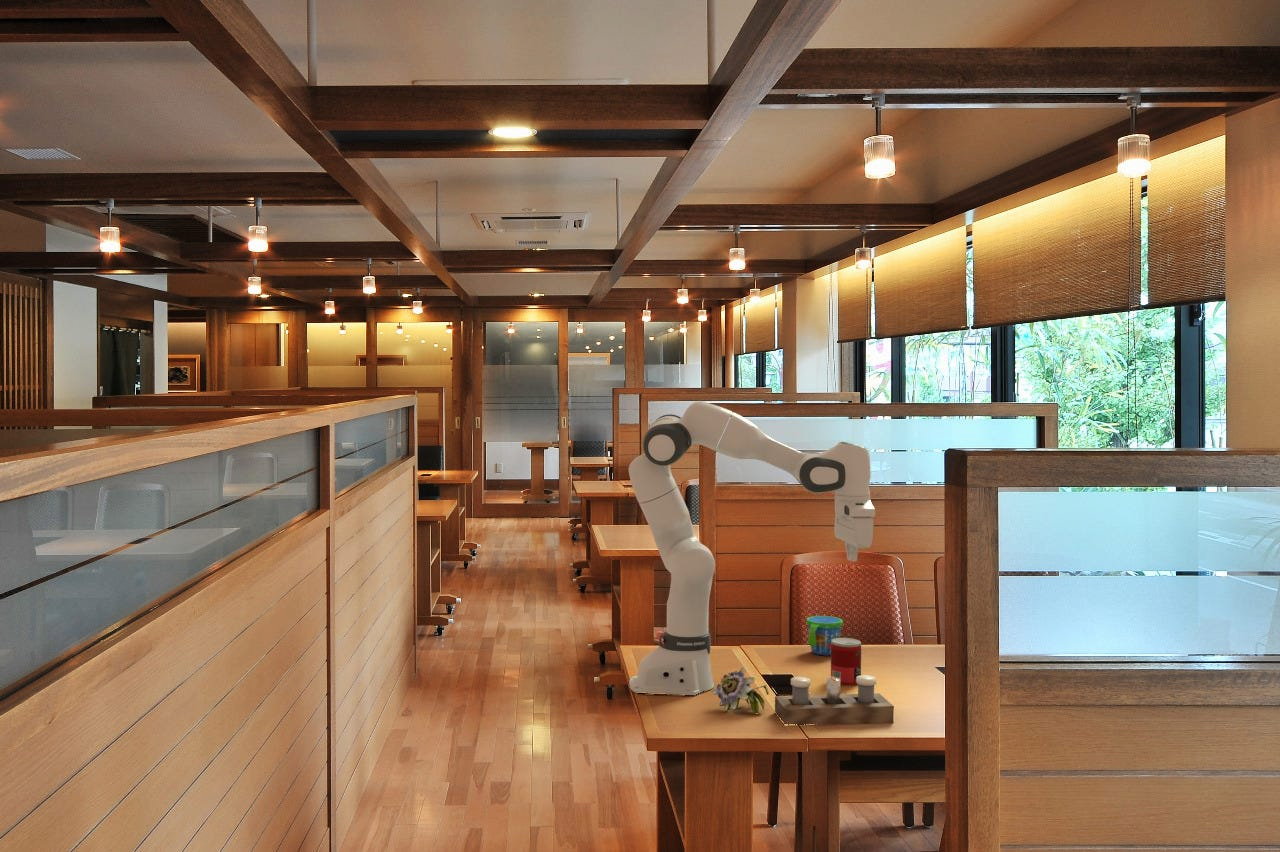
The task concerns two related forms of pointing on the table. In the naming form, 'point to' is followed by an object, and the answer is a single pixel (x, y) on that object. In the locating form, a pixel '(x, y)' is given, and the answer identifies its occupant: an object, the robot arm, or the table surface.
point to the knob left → (800, 690)
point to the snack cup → (823, 633)
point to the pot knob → (833, 690)
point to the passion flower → (738, 691)
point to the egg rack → (834, 710)
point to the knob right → (865, 688)
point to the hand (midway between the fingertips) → (852, 560)
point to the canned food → (846, 660)
